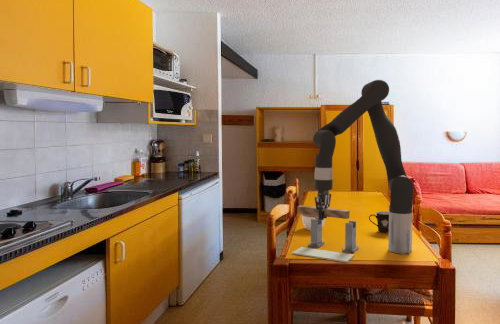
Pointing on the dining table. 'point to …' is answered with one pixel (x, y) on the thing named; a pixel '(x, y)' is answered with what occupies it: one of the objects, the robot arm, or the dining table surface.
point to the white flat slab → (323, 254)
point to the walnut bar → (327, 212)
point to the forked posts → (349, 235)
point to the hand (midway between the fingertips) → (322, 218)
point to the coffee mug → (382, 221)
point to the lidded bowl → (309, 220)
